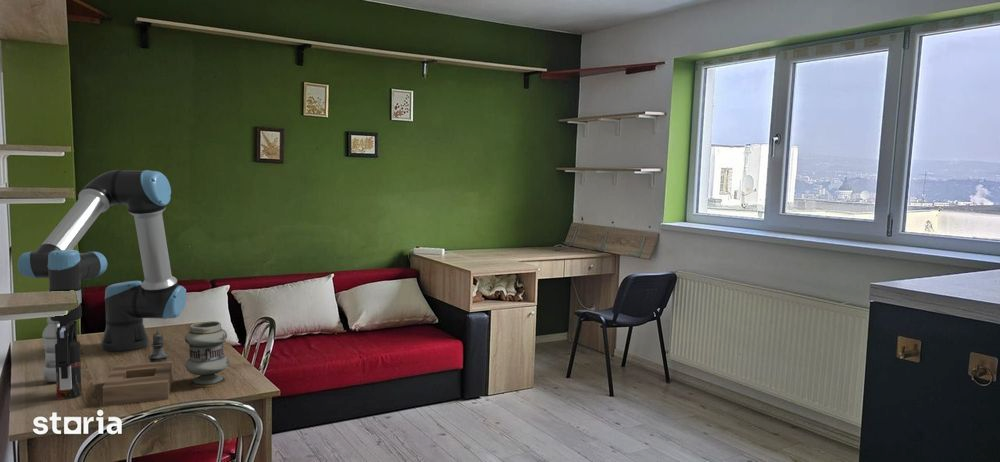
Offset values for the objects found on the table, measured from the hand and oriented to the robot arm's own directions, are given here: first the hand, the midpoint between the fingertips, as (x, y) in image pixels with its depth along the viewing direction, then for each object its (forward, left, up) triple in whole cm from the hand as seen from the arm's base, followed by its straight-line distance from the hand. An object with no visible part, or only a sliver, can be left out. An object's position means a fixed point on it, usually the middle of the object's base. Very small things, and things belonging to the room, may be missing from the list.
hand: (69, 384), depth 194 cm
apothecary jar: (-1, +36, -3) cm, 36 cm away
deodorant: (0, 0, -3) cm, 3 cm away
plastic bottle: (-16, -6, -3) cm, 17 cm away
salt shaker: (-23, +21, -3) cm, 31 cm away
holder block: (+1, +18, -3) cm, 18 cm away
